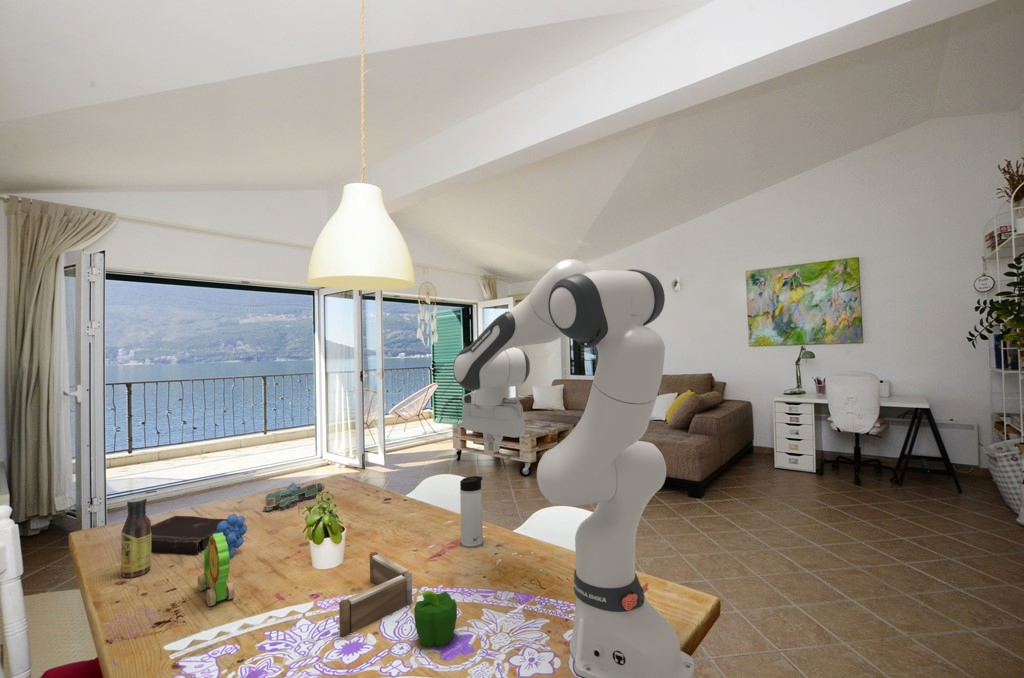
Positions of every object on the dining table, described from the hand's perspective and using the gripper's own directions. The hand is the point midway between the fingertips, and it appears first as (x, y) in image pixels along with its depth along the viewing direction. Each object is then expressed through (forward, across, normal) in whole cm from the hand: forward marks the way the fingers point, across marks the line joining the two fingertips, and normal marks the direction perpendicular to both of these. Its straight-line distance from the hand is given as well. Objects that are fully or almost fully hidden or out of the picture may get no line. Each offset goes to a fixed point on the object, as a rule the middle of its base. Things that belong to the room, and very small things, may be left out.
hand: (493, 450), depth 121 cm
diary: (+32, +89, +49) cm, 106 cm away
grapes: (+31, +65, +44) cm, 85 cm away
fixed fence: (+31, +4, +32) cm, 44 cm away
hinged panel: (+31, +13, +24) cm, 41 cm away
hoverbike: (+32, +100, +11) cm, 105 cm away
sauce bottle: (+32, +73, +63) cm, 101 cm away
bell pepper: (+31, -11, +28) cm, 43 cm away
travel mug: (+31, +17, -7) cm, 36 cm away
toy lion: (+32, +43, +52) cm, 74 cm away
